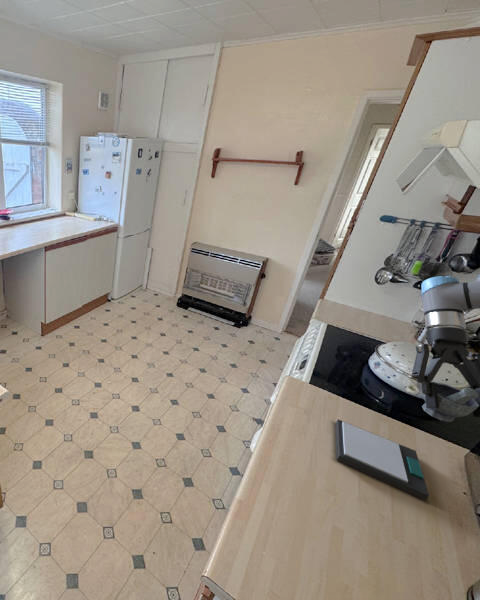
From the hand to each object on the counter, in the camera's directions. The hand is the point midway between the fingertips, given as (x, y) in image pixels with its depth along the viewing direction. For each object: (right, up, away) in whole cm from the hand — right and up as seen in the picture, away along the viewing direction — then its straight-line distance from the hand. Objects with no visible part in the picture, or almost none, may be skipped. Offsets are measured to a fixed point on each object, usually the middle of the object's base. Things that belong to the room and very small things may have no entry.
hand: (456, 412), depth 83 cm
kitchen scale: (-16, -15, +6) cm, 22 cm away
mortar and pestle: (0, -2, +5) cm, 5 cm away
